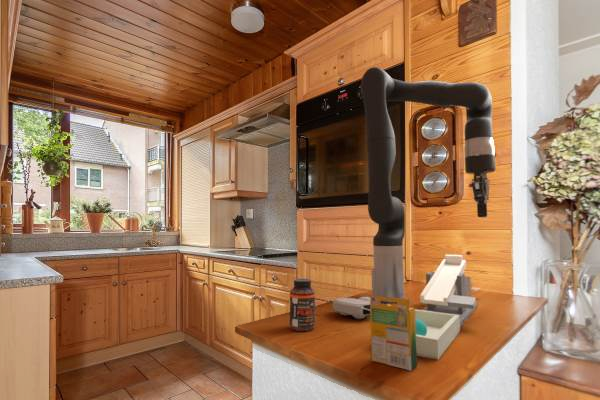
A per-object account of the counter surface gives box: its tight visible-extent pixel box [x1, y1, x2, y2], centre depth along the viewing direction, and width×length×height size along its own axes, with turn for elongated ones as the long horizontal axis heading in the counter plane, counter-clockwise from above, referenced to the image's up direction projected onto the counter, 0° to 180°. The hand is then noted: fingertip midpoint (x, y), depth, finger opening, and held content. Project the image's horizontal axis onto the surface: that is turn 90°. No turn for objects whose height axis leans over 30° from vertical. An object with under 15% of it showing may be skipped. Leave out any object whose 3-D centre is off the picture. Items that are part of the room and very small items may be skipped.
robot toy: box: [326, 296, 390, 320], centre depth 93 cm, size 12×4×15 cm
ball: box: [415, 319, 427, 336], centre depth 71 cm, size 4×4×4 cm
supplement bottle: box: [289, 278, 316, 332], centre depth 82 cm, size 6×6×11 cm
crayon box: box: [369, 294, 418, 372], centre depth 61 cm, size 7×3×12 cm, turn 52°
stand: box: [421, 271, 478, 328], centre depth 93 cm, size 11×27×10 cm, turn 145°
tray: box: [415, 308, 461, 360], centre depth 73 cm, size 12×20×4 cm, turn 145°
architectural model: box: [453, 275, 480, 297], centre depth 113 cm, size 3×7×7 cm, turn 40°
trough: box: [419, 254, 477, 309], centre depth 92 cm, size 12×26×6 cm, turn 145°
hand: (482, 217), depth 96 cm, fingers closed
